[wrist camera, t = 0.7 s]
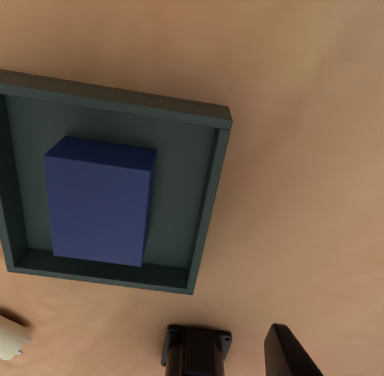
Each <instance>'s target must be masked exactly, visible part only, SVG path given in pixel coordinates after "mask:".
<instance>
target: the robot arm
mask: <svg viewBox="0 0 384 376" xmlns="http://www.w3.org/2000/svg"><path fill="white" fill-rule="evenodd" d="M231 341H232V334H231V333H229V332H221V331H213V330H205V329H197V328H188V327H180V326H169V327H168V328H167V332H166V338H165V343H164V349H163V354H162V360H161V365H162V366H165V367H166V371H165V376H225V375H224V361H225V358H226V355H227V352H228V350H229V347H230V344H231ZM264 351H265V366H266V376H324V375H323V374H322V373H321V371H320V370H319V369H318V367H317V366H316V364H315V363H314V362H313V360H312V359H311V358H310V356H309V355H308V354H307V352H306V351H305V349H304V348H303V347H302V345H301V344H300V343H299V341H298V340H297V339H296V337H295V336H294V334H293V333H292V332H291V330H290V329H289V328H288V327H287V326H286V325H284V324H277V323H274V324H272V326H271V328H270V330H269V332H268V334H267V336H266V338H265V342H264Z"/></svg>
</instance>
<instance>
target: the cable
mask: <svg viewBox="0 0 384 376" xmlns="http://www.w3.org/2000/svg"><path fill="white" fill-rule="evenodd" d="M27 332H28V330H27V328H26V327H24V326H22V325H19V324H17V323H15V322H13V321H11V320H9V319H7V318H5V317H3V316H0V359H3V360H5V361H8V360H10V359H11V358H12V357H13V356H14V355H15V354H18V355H20V354H21V353H22V351H21V350H20V348H21V346H22V345H23V343H24V342H27V343H31V340H32V337H30V336H29V335H27Z"/></svg>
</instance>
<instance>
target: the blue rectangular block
mask: <svg viewBox="0 0 384 376" xmlns="http://www.w3.org/2000/svg"><path fill="white" fill-rule="evenodd" d="M156 158H157V150H156V149H150V148H143V147H137V146H130V145H124V144H117V143H111V142H104V141H97V140H91V139H84V138H78V137H71V136H64V137H63V138H62V139H61V140H60V141H59V142H58V143H57V144H55V145H54V146H53V147H52V148H51V149H50V150H49V151H48V152H47V153H46V154H44V155H43V159H44V169H45V178H46V188H47V198H48V207H49V217H50V227H51V236H52V246H53V255H55V256H63V257H70V258H78V259H86V260H93V261H101V262H108V263H116V264H124V265H131V266H139V267H141V266H142V262H143V257H144V253H145V249H146V244H147V240H148V234H149V225H150V215H151V206H152V196H153V186H154V177H155V167H156Z"/></svg>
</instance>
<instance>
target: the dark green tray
mask: <svg viewBox="0 0 384 376" xmlns="http://www.w3.org/2000/svg"><path fill="white" fill-rule="evenodd" d="M231 126H232V117H231V114H230V110H229V107H227V106H221V105H215V104H209V103H202V102H196V101H190V100H184V99H178V98H172V97H166V96H159V95H153V94H147V93H141V92H135V91H129V90H123V89H116V88H110V87H104V86H98V85H92V84H86V83H80V82H73V81H67V80H61V79H55V78H49V77H43V76H37V75H30V74H24V73H18V72H12V71H6V70H0V238H1V243H2V248H3V253H4V257H5V262H6V266H7V271H8V272H14V273H22V274H30V275H38V276H46V277H54V278H62V279H69V280H77V281H85V282H93V283H101V284H109V285H117V286H124V287H132V288H140V289H148V290H156V291H164V292H172V293H180V294H187V295H193V292H194V288H195V283H196V279H197V275H198V270H199V266H200V261H201V257H202V253H203V248H204V244H205V240H206V235H207V231H208V226H209V222H210V218H211V213H212V209H213V204H214V200H215V196H216V191H217V187H218V183H219V178H220V174H221V169H222V165H223V161H224V156H225V152H226V148H227V143H228V139H229V134H230V129H231ZM64 136H71V137H78V138H84V139H91V140H97V141H104V142H111V143H117V144H124V145H130V146H137V147H143V148H150V149H156V150H157V158H156V167H155V177H154V186H153V196H152V206H151V215H150V225H149V234H148V240H147V244H146V249H145V253H144V257H143V262H142V266H141V267H139V266H131V265H124V264H116V263H108V262H101V261H93V260H86V259H78V258H70V257H63V256H55V255H53V246H52V236H51V227H50V217H49V207H48V198H47V188H46V178H45V169H44V159H43V155H44V154H46V153H47V152H48V151H49V150H50V149H51V148H52V147H53V146H54V145H55V144H57V143H58V142H59V141H60V140H61V139H62V138H63V137H64Z"/></svg>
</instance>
